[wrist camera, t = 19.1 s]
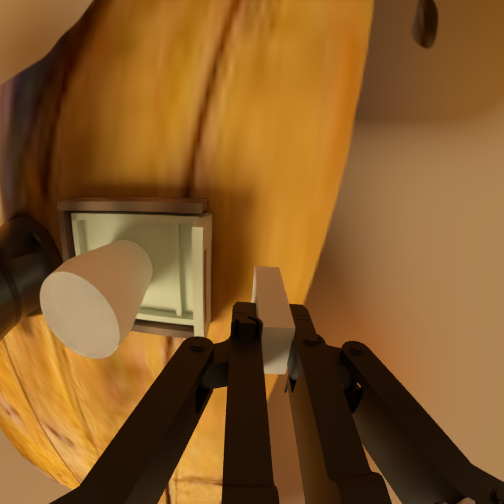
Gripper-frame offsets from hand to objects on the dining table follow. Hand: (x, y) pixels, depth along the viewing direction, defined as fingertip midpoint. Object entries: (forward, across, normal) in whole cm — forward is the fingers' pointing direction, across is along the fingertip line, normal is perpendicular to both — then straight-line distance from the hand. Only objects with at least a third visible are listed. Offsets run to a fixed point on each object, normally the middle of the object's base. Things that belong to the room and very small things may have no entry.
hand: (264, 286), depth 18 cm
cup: (+13, -15, -5) cm, 21 cm away
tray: (+14, -13, -5) cm, 20 cm away
